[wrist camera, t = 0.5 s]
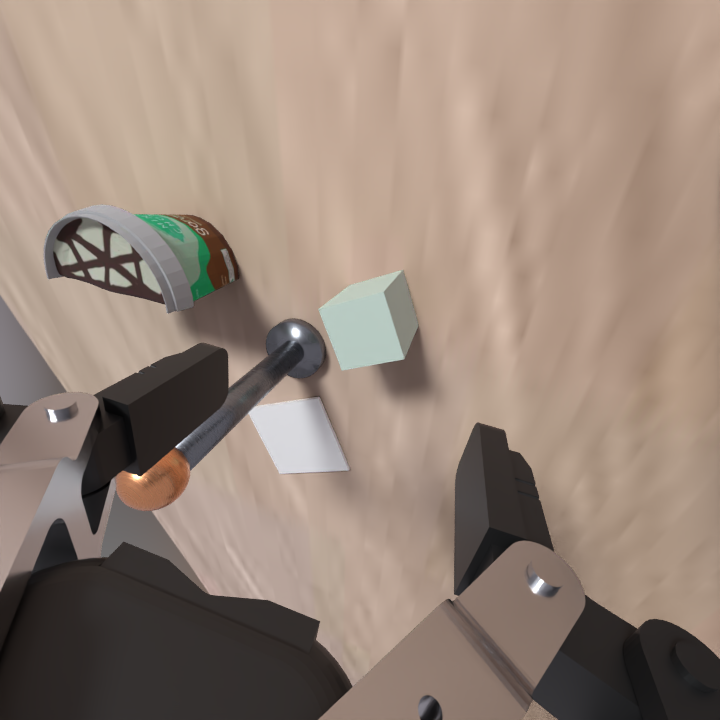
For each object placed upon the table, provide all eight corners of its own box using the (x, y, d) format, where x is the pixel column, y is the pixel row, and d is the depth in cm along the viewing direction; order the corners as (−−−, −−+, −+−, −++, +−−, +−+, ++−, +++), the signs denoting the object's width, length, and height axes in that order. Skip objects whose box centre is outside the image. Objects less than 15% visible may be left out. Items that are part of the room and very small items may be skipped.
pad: (319, 396, 37) (318, 398, 36) (349, 468, 40) (348, 470, 40) (248, 407, 41) (246, 409, 40) (281, 471, 44) (279, 473, 44)
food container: (251, 214, 30) (162, 225, 21) (252, 282, 33) (174, 315, 24) (136, 190, 32) (14, 191, 24) (147, 255, 35) (42, 277, 27)
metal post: (312, 312, 32) (131, 451, 15) (334, 367, 34) (195, 544, 17) (263, 325, 35) (58, 459, 18) (286, 376, 37) (122, 539, 20)
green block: (403, 269, 28) (383, 291, 22) (418, 324, 30) (404, 359, 24) (349, 285, 30) (318, 309, 24) (367, 336, 32) (341, 370, 26)
